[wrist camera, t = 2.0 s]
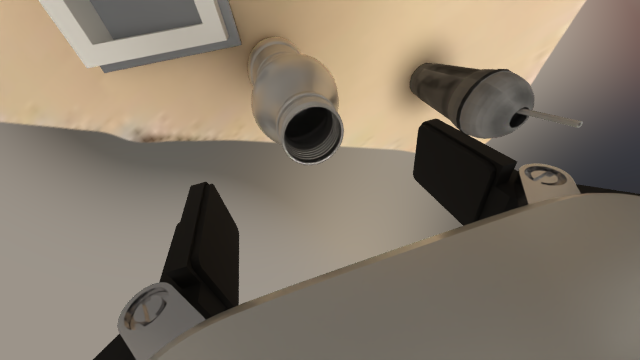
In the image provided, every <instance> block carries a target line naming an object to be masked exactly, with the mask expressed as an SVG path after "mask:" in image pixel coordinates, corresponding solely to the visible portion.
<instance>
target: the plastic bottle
mask: <svg viewBox="0 0 640 360" xmlns="http://www.w3.org/2000/svg"><path fill="white" fill-rule="evenodd" d="M248 76H249V79H250V82H251V84H252V86H253V91H252V111H253V115H254V118H255V120H256V123H257V124H258V126H259V128H260V129H261V130H262V131H263V132H264V133H265V135H266V136H268V137H269V138H270V139H271V140H273V141H274V142H276V143H278V144H280V145H282V147H283V149H284V151H285V152H286V154H287V155H288V156H289V157H290V159H292V160H293V161H295V162H297V163H299V164H303V165H315V164H319V163H322V162H324V161H326V160H327V159H329V158H330V157H331V156H333V154H334V153H335V152H336V151H337V150H338V148H339V147H340V144H341V142H342V139H343V132H344V129H343V123H342V120H341V117H340V116H339V114H338V104H339V99H338V92H337V86H336V83H335V81H334V78H333V76H332V75H331V73H330V71H329V70H328V69H327V68H326V67H325V66H324V65H323V64H322V63H321V62H319V61H318V60H317V59H315V58H312V57H310V56H307V55H304V54H301V53H300V51H299V50H298V48H297V47H296V46H295V45H294V44H293V43H291V42H290V41H289V40H287V39H284V38H281V37H269V38H266V39H264V40H262V41H260V42H259V43H258V44H257V45H256V46H255V47H254V48H253V50H252V51H251V54H250V56H249V59H248Z"/></svg>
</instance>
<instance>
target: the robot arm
mask: <svg viewBox="0 0 640 360" xmlns="http://www.w3.org/2000/svg"><path fill="white" fill-rule="evenodd" d="M516 163H517V162H516V161H515V160H513V159H511V158H510V157H508V156H506V155H504V154H502V153H500V152H498V151H496V150H494V149H493V148H491V147H489V146H487V145H485V144H483V143H481V142H480V141H478V140H476V139H474V138H472V137H470V136H468V135H467V134H465V133H463V132H461V131H459V130H457V129H455V128H453V127H452V126H450V125H448V124H446V123H444V122H442V121H440V120H439V119H433V120H429V121H425V122H423V123H422V125H421V126H420V127H419V130H418V137H417V145H416V154H415V162H414V170H413V175H414V178H415V180H416V181H417V182H418V183H419V184H420V185H421V186H422V187H423V188H424V189H426V190H427V191H428V192H429V193H430V194H431V195H432V196H433V197H434V198H435V199H436V200H437V201H438V202H439V203H440V204H441V205H442V206H443V207H444V208H445V209H447V210H448V211H449V212H450V213H451V214H452V215H453V216H454V217H455V218H456V219H457V220H458V221H459V222H460V223H461V224H462V225H463V226H462V227H459V228H456V229H453V230H450V231H447V232H444V233H441V234H438V235H435V236H432V237H430V238H426V239H423V240H420V241H418V242H415V243H412V244H409V245H406V246H403V247H401V248H397V249H394V250H392V251H389V252H386V253H383V254H380V255H377V256H374V257H371V258H368V259H366V260H363V261H360V262H357V263H354V264H351V265H348V266H346V267H343V268H340V269H337V270H334V271H331V272H329V273H326V274H323V275H320V276H317V277H315V278H312V279H309V280H306V281H303V282H300V283H297V284H294V285H292V286H289V287H286V288H283V289H281V290H278V291H275V292H273V293H270V294H267V295H264V296H262V297H259V298H256V299H254V300H251V301H248V302H245V303H243V304H241V305H238V303H239V290H238V289H239V231H238V228H237V226H236V224H235V222H234V220H233V218H232V217H231V215H230V213H229V211H228V209H227V208H226V206H225V205H224V202H223V200H222V199H221V197H220V195H219V193H218V192H217V190H216V188H215V186H214V185H213V184H210V185H209V184H208V183H207V182H203V183H200V184H196V185H193V186H191V187H190V190H189V194H188V197H187V200H186V204H185V207H184V211H183V214H182V218H181V221H180V223H178V224H177V226H176V229H175V233H174V236H173V239H172V242H171V246H170V250H169V252H168V256H167V259H166V262H165V266H164V269H163V272H162V276H161V279H160V282H159V283H155V284H152V285H150V286H148V287H146V288H144V289H143V290H141V291H140V292H139V293H137V294H136V295H135V296H134V297H133V298H132V299H131V300H130V301H129V302H128V303H127V305H126V306H125V307H124V309H123V310H122V312H121V314H120V316H119V319H118V325H117V326H118V330H119V333H120V334H119V335H118V336H117V337H116V338H115V339H114V340H113V341H112V342H111V343H110V344H108V345H107V347H105V348H104V349H103V350H102V352H100V353H99V354H98V355H97V356H96V357H95V358H94V359H93V360H640V194H635V193H630V192H623V191H616V190H610V189H603V188H597V187H590V186H584V185H577V184H575V182H574V180H573V179H572V177H571V176H570V175H569V174H568V173H566V172H564V171H563V170H561V169H559V168H556V167H553V166H549V165H544V164H527V165H524V166H522V167H521V168H520V169H519V171H516V170H514V168H515V166H516Z"/></svg>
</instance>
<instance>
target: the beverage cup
mask: <svg viewBox="0 0 640 360" xmlns="http://www.w3.org/2000/svg"><path fill="white" fill-rule="evenodd" d="M410 89H411V91H412V92H413V94H415V95H416V96H418V98H420V99H421V100H422V101H424V102H425V103H427V104H428V105H430V106H431V107H432V108H434V109H435V110H437V111H438V112H439V113H441V114H442V115H444V116H445V117H446V118H448V119H449V120H451V122H452V123H453V124H454V125H455V126H456V127H457V128H458V129H459V130H460V131H461V132H463V133H465V134H467V135H470V136H474V137H477V138H484V139H486V138H497V137H502V136H505V135H507V134H510V133H512V132H513V131H515V130H516V129H518V128H519V127H521V126H522V125H523V124H524V123H525V121H526V120H527V119H528V118H529V116H532V117H536V118H541V119H544V120H548V121H553V122H557V123H561V124H565V125H569V126H574V127H580V126H581V125H582V122H581V121H577V120H572V119H568V118H563V117H559V116H555V115H550V114H546V113H541V112H537V111H532V110H533V107H534V94H533V91H532V89H531V86H530V85H529V83H528V82H527V81H526V80H525V79H523V78H522V77H520V76H518V75H517V74H515V73H513V72H511V71H510V70H508V69H498V70H493V69H482V70H479V69H472V68H465V67H458V66H451V65H444V64H432V63H426V64H423V65H421V66H420V67H418V68H417V69H416V70H415V71H414V73H413V75H412V77H411V80H410Z"/></svg>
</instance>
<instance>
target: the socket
mask: <svg viewBox="0 0 640 360" xmlns="http://www.w3.org/2000/svg"><path fill="white" fill-rule="evenodd" d="M39 2H40V3H41V5H42V6H43V7H44V9H45V10H46V12H47V13H48V14H49V16H50V17H51V19H52V20H53V21H54V23H55V24H56V26H57V27H58V28H59V30H60V31H61V33H62V34H63V35H64V37H65V38H66V40H67V41H68V42H69V44H70V45H71V47H72V48H73V49H74V51H75V52H76V54H77V55H78V56H79V58H80V59H81V61H82V62H83V63H84V65H85V66H86V68H91V67H96V66H100V67H101V69H102V70H103V72H104V73H107V72H112V71H117V70H121V69H126V68H131V67H136V66H141V65H146V64H151V63H156V62H161V61H166V60H170V59H175V58H180V57H185V56H190V55H195V54H200V53H205V52H210V51H215V50H219V49H224V48H229V47H234V46H239V45H242V43H241V40H240V37H239V33H238V30H237V27H236V24H235V20H234V17H233V14H232V11H231V8H230V4H229V1H228V0H39Z"/></svg>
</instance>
